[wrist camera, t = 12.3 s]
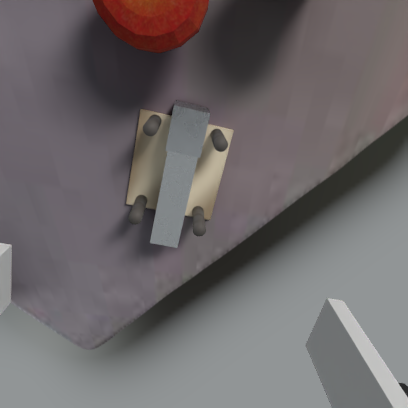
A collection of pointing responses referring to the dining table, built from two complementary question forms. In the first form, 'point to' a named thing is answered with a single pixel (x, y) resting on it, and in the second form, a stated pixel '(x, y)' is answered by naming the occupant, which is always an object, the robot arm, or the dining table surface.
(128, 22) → the apple
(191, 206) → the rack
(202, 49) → the dining table surface
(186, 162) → the grey stepped post
